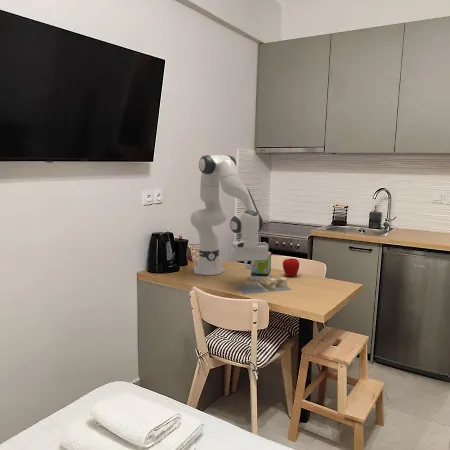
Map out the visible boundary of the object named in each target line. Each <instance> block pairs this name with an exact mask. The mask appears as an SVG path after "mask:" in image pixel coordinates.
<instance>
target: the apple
mask: <svg viewBox="0 0 450 450" xmlns="http://www.w3.org/2000/svg"><path fill="white" fill-rule="evenodd" d="M282 268H283V272H284V274H285V275H286V276H287V277H296V275H297V274H298V272H299V269H300V261H299V260H298V259H297V258H292V257H291V258H286V259H284V260H283V262H282Z"/></svg>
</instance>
